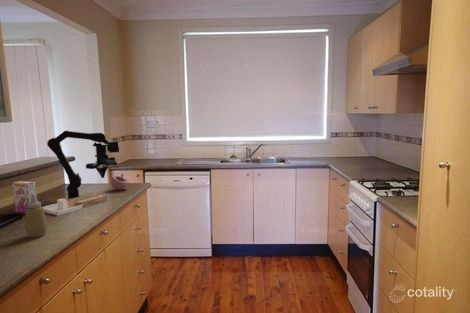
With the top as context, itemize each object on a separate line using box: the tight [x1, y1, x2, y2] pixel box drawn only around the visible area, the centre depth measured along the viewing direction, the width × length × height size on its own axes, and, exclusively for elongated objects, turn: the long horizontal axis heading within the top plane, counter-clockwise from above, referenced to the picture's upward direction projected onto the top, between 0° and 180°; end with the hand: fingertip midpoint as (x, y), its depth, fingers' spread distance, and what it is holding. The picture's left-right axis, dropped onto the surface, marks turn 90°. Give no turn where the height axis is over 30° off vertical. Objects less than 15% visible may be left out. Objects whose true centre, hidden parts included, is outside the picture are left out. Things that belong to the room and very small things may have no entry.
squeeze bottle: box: [24, 194, 48, 239], centre depth 131 cm, size 8×8×18 cm
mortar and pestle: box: [110, 173, 130, 191], centre depth 211 cm, size 12×12×11 cm
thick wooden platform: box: [66, 193, 107, 209], centre depth 181 cm, size 14×16×3 cm
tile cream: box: [56, 198, 68, 210], centre depth 168 cm, size 5×5×2 cm
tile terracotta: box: [67, 201, 76, 208], centre depth 172 cm, size 5×5×2 cm
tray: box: [42, 203, 83, 217], centre depth 168 cm, size 16×14×2 cm
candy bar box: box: [11, 180, 38, 214], centre depth 163 cm, size 11×5×16 cm, turn 71°
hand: (102, 177), depth 193 cm, fingers closed
